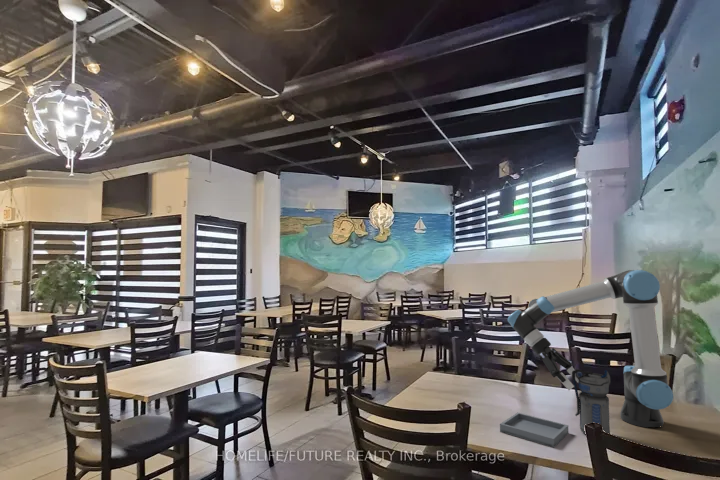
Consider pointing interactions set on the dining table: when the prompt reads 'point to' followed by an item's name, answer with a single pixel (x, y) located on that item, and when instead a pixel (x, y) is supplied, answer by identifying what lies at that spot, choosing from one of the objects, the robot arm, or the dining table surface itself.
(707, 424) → the dining table surface
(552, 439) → the tray
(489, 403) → the dining table surface
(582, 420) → the beverage bottle
